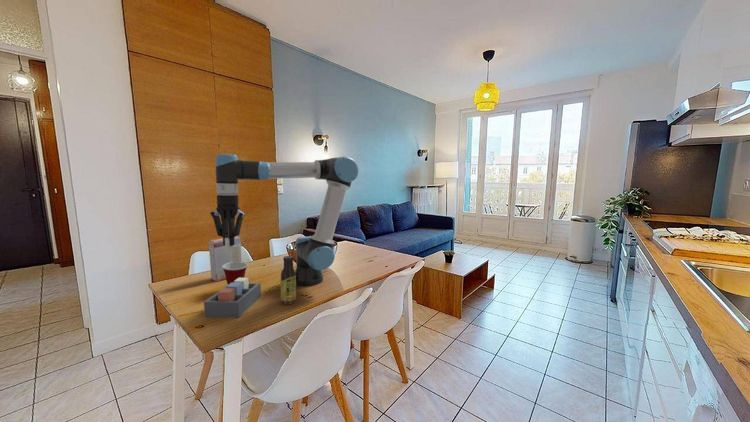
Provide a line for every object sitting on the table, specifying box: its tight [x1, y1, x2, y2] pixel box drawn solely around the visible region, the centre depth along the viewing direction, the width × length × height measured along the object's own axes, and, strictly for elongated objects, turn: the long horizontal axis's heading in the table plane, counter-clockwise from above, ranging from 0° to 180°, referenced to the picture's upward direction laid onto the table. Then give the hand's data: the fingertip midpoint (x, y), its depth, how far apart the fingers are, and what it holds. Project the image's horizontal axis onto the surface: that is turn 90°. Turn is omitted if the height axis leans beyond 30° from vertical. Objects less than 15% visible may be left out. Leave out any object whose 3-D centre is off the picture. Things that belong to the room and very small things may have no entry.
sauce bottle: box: [280, 255, 297, 306], centre depth 120 cm, size 6×6×20 cm
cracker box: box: [208, 236, 243, 283], centre depth 150 cm, size 14×6×21 cm, turn 144°
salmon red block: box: [217, 287, 235, 301], centre depth 111 cm, size 4×4×5 cm
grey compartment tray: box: [203, 282, 262, 319], centre depth 118 cm, size 13×20×6 cm, turn 179°
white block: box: [234, 277, 250, 289], centre depth 123 cm, size 4×4×5 cm
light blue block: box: [225, 283, 242, 294], centre depth 117 cm, size 4×4×5 cm
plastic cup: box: [222, 261, 248, 285], centre depth 134 cm, size 11×11×12 cm
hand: (229, 253), depth 114 cm, fingers closed
